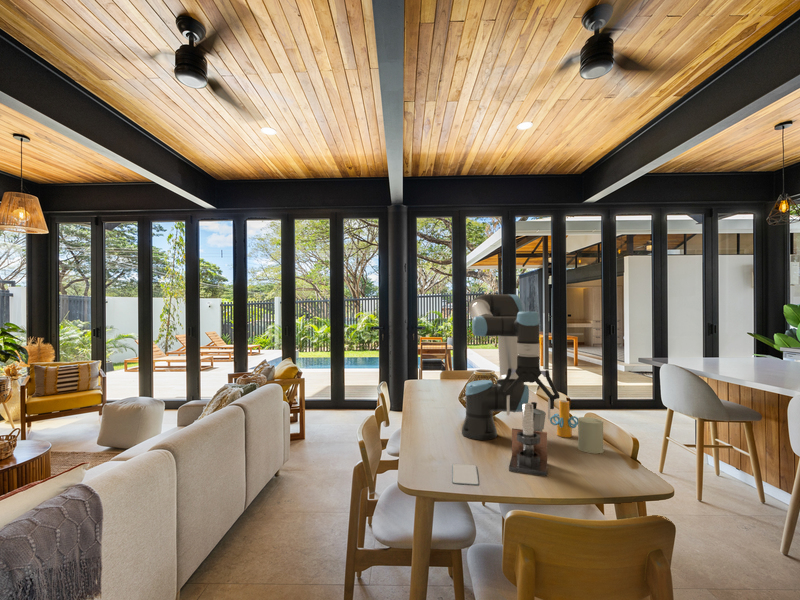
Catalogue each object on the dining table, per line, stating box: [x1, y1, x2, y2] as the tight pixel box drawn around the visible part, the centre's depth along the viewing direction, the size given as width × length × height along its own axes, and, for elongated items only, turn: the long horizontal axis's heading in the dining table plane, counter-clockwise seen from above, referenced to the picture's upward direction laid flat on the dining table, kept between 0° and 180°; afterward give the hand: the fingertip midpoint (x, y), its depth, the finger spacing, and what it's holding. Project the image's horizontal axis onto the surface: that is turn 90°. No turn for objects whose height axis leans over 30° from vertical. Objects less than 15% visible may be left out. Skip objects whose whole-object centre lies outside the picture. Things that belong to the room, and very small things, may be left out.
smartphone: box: [451, 463, 480, 487], centre depth 128 cm, size 8×1×15 cm
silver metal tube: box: [521, 402, 534, 457], centre depth 135 cm, size 4×4×20 cm
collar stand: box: [508, 428, 548, 477], centre depth 135 cm, size 12×12×11 cm
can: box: [577, 416, 605, 455], centre depth 153 cm, size 9×9×12 cm
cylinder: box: [549, 399, 579, 439], centre depth 170 cm, size 12×10×15 cm
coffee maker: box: [530, 401, 547, 432], centre depth 153 cm, size 15×9×18 cm, turn 149°
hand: (528, 416), depth 135 cm, fingers open, 13 cm apart
